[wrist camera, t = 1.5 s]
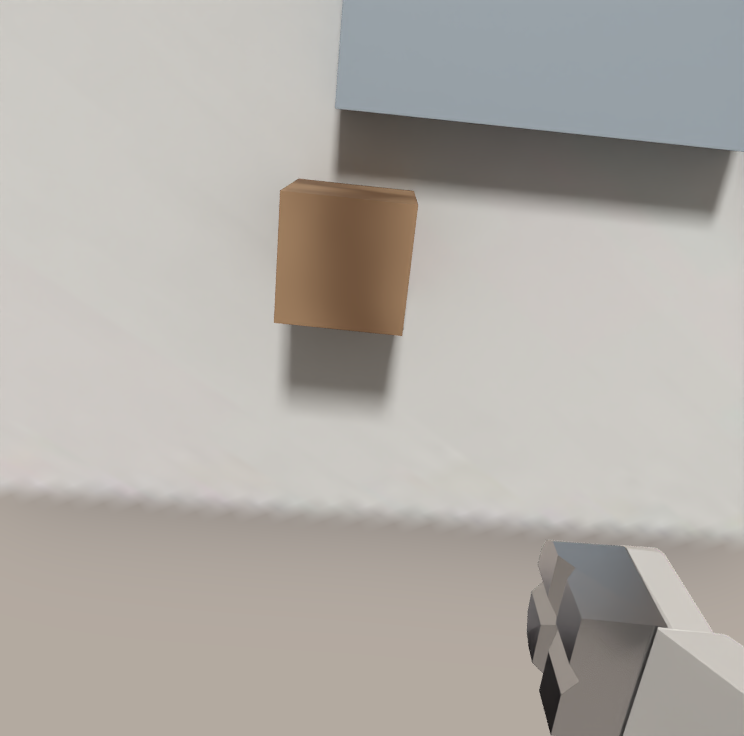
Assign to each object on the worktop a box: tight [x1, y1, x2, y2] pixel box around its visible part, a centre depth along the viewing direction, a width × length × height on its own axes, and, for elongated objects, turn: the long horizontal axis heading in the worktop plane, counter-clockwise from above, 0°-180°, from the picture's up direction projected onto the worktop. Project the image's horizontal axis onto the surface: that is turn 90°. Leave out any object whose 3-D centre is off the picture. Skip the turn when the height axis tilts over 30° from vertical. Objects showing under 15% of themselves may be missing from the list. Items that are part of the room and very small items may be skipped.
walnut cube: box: [274, 179, 418, 336], centre depth 29 cm, size 6×6×6 cm
